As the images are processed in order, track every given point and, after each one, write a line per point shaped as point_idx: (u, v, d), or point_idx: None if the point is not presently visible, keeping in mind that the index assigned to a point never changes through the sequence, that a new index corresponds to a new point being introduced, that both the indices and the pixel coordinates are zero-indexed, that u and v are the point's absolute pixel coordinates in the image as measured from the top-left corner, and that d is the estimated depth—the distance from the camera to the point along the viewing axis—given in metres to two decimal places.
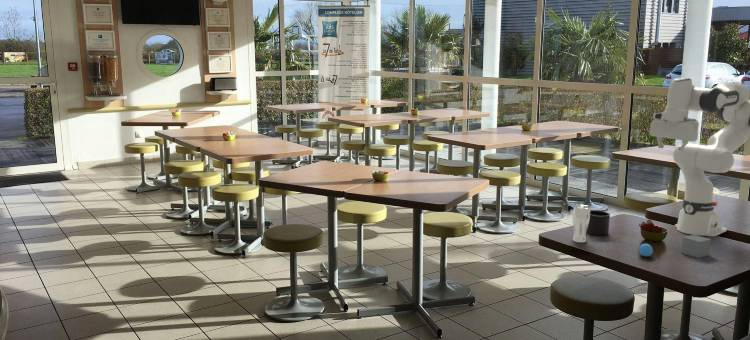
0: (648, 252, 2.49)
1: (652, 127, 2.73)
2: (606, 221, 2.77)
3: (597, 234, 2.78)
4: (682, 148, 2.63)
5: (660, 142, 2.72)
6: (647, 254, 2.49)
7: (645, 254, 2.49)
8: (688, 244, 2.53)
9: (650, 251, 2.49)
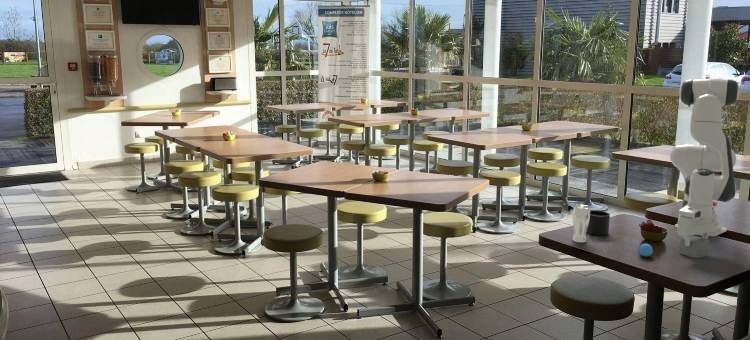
0: (648, 252, 2.49)
1: (689, 227, 2.46)
2: (606, 221, 2.77)
3: (597, 234, 2.78)
4: None
5: None
6: (647, 254, 2.49)
7: (645, 254, 2.49)
8: None
9: (650, 251, 2.49)
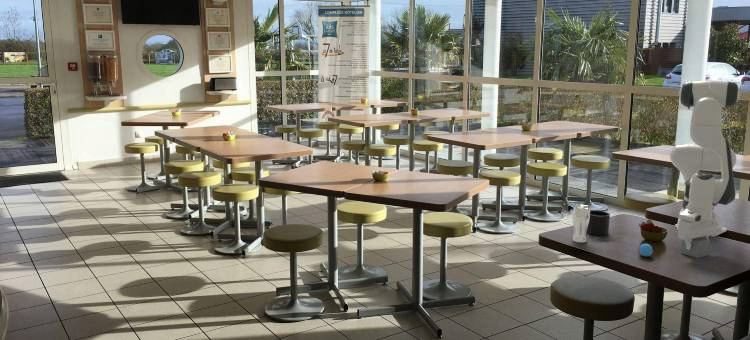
0: (648, 252, 2.49)
1: (689, 231, 2.47)
2: (606, 221, 2.77)
3: (597, 234, 2.78)
4: None
5: None
6: (647, 254, 2.49)
7: (645, 254, 2.49)
8: None
9: (650, 251, 2.49)
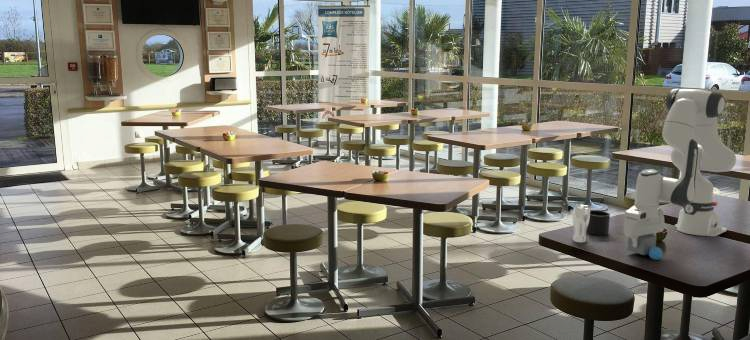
0: None
1: (634, 229, 2.45)
2: (606, 221, 2.77)
3: (597, 234, 2.78)
4: None
5: None
6: (650, 256, 2.48)
7: (649, 255, 2.48)
8: None
9: None
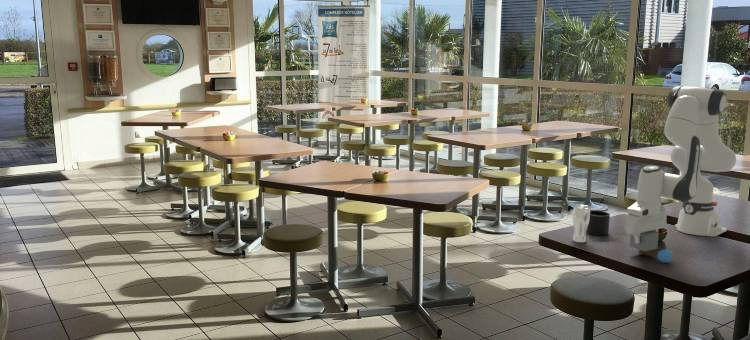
0: None
1: (636, 225, 2.44)
2: (606, 221, 2.77)
3: (597, 234, 2.78)
4: None
5: None
6: (659, 252, 2.45)
7: (659, 252, 2.44)
8: None
9: None
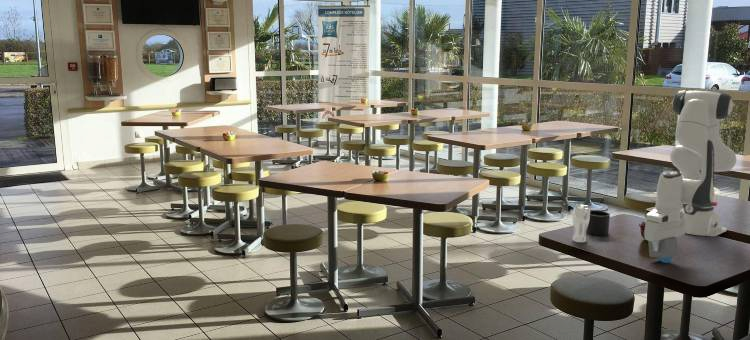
0: None
1: (656, 232, 2.36)
2: (606, 221, 2.77)
3: (597, 234, 2.78)
4: None
5: None
6: None
7: None
8: None
9: None
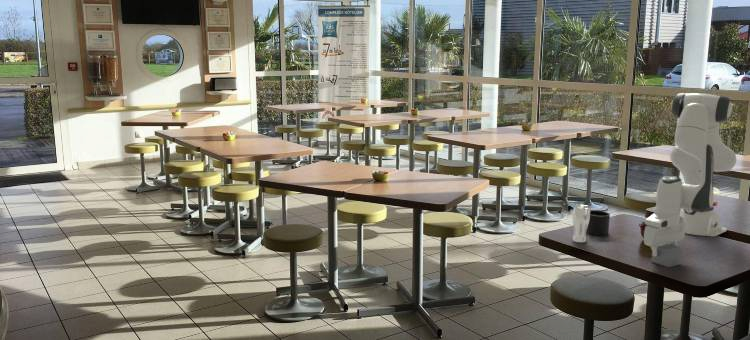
0: None
1: (655, 237, 2.37)
2: (606, 221, 2.77)
3: (597, 234, 2.78)
4: None
5: None
6: None
7: None
8: None
9: None
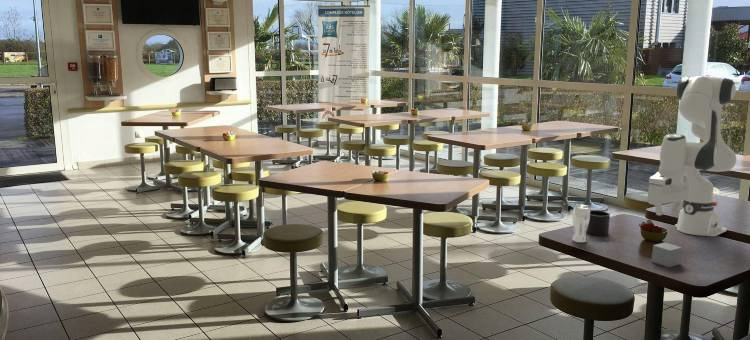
0: None
1: (659, 195, 2.34)
2: (606, 221, 2.77)
3: (597, 234, 2.78)
4: None
5: None
6: None
7: None
8: (658, 253, 2.42)
9: None
